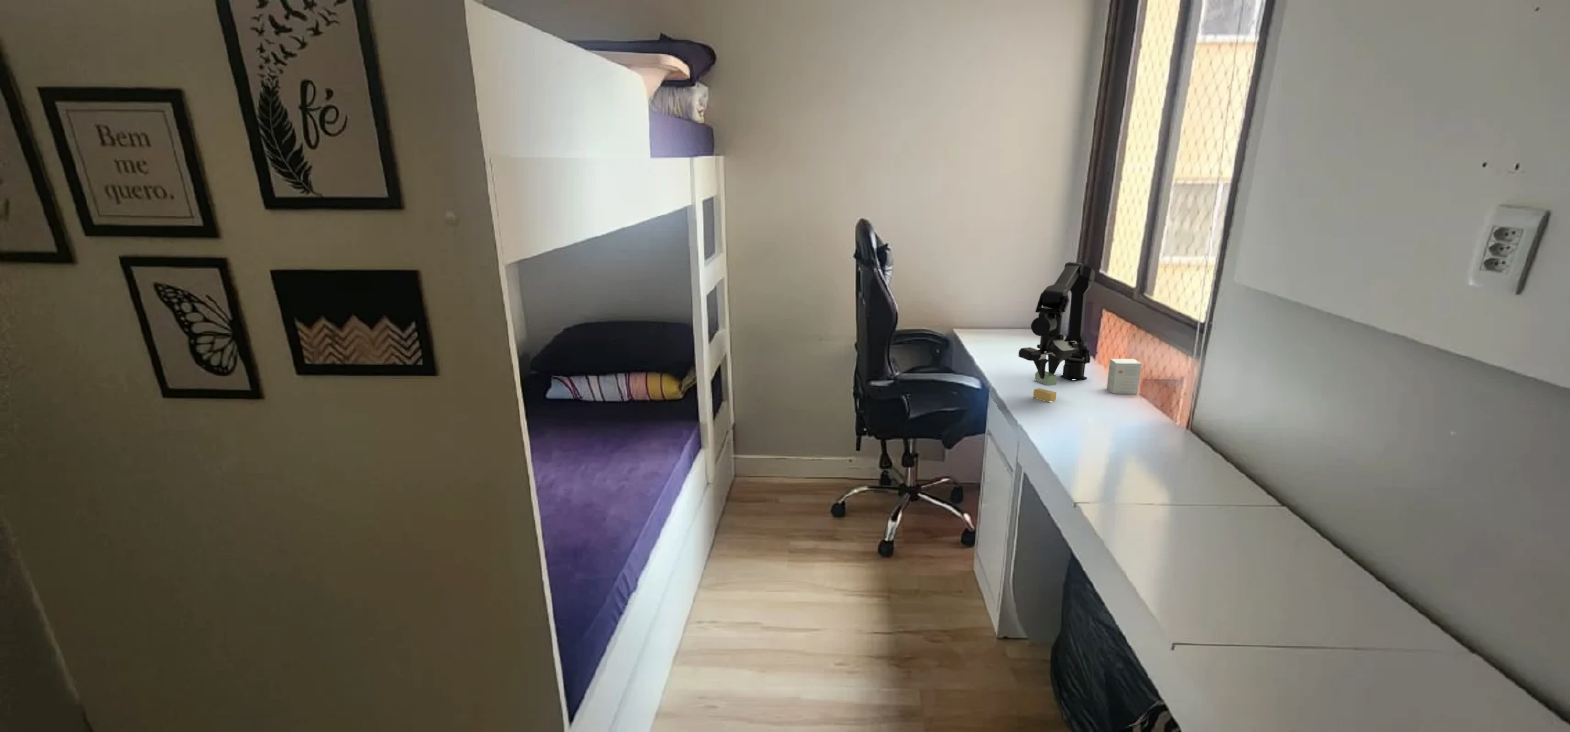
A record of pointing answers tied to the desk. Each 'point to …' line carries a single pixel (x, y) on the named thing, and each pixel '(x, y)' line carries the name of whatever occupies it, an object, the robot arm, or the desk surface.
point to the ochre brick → (1044, 394)
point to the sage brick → (1047, 378)
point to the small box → (1123, 376)
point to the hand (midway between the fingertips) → (1046, 378)
